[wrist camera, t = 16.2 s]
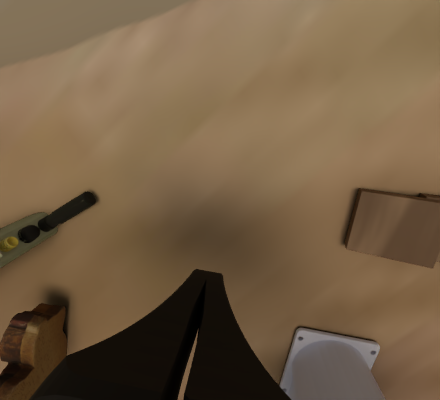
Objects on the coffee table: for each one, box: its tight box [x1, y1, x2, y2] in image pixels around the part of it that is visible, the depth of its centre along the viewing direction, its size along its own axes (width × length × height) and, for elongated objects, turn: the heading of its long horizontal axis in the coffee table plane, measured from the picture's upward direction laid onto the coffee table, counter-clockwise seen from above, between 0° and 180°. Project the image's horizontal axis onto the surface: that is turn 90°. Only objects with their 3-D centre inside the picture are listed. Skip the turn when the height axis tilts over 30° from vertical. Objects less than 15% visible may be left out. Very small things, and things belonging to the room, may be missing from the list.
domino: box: [344, 188, 440, 268], centre depth 19 cm, size 1×5×6 cm
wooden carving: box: [0, 303, 67, 400], centre depth 23 cm, size 16×5×10 cm, turn 170°
